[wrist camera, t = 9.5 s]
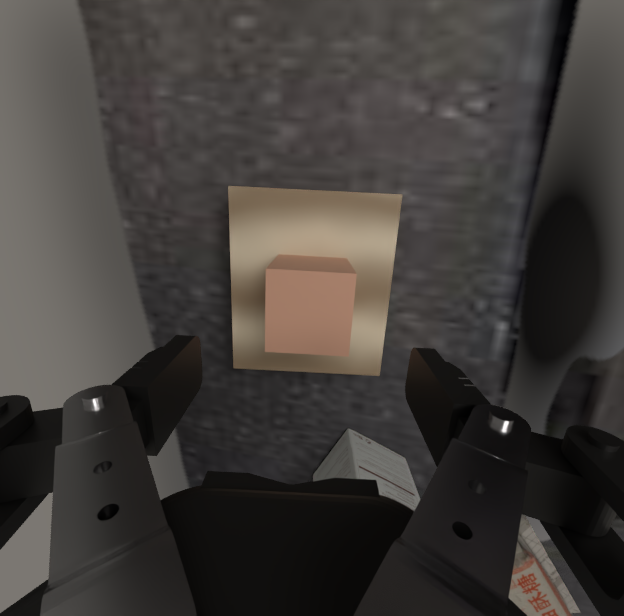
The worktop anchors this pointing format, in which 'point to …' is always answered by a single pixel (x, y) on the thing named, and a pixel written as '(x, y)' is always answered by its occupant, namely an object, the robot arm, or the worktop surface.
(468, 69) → the worktop surface
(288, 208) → the birch base
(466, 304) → the worktop surface
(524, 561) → the packaged product
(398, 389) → the worktop surface
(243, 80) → the worktop surface
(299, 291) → the terracotta block
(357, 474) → the supplement box
